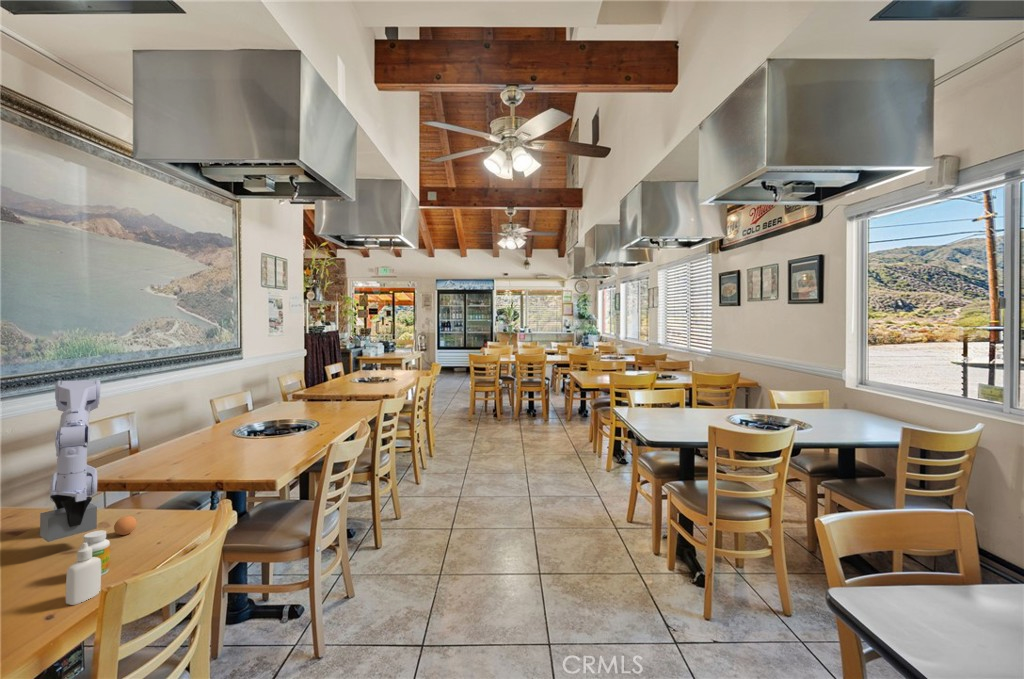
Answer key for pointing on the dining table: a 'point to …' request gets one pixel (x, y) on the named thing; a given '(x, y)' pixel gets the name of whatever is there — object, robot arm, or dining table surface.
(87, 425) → the robot arm
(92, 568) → the eye dropper bottle
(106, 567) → the supplement bottle
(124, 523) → the brown egg
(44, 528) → the gray block
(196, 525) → the dining table surface
